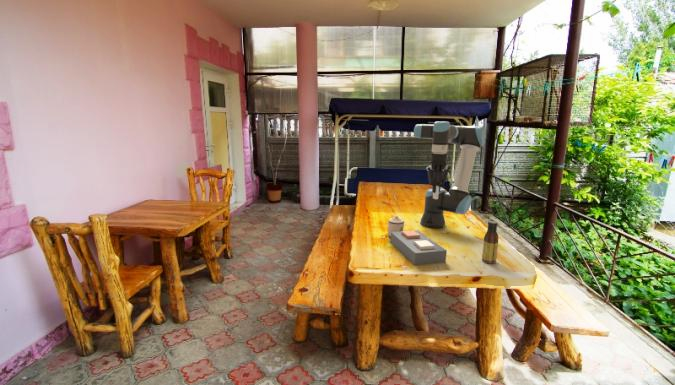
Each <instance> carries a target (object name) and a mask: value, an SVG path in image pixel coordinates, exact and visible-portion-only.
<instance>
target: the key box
mask: <svg viewBox="0 0 675 385" xmlns="http://www.w3.org/2000/svg"><path fill="white" fill-rule="evenodd" d="M414 231H415V232H417V233H418V234H420V238H412V239H407V238H405V237H404V236H403V235H402V231H400V232H391V237H390V244H391V245H392V246H393V247H394V248H396V250H397V251H399V252H400V253H401V254H402V255H403V256H404V257H405V258H406V259H407V260H408V261H409V262H410V263H411V264H412V265H413V266H422V265H431V264H432V265H433V264H444V263H446V261H447V249H445V248H444V247H442V246H441V245H440V244H438V243H437V242H436V241H434V240H432V239H431V238H430V237H428V236H427V235H425V233H423V232H422V231H420V230H417V229H416V230H414ZM422 240H427V241H429V242H430V243H432V244H433V245H434V249H423V250H420V249H419V248H418V247H416V246H415V245H414V241H422Z"/></svg>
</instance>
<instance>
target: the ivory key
mask: <svg viewBox="0 0 675 385" xmlns="http://www.w3.org/2000/svg"><path fill="white" fill-rule="evenodd" d="M414 245H415V246H416V247H418V248H419V249H420V250H423V249H434V245H433V244H432V243H430V242H429V241H427V240H422V241H414Z"/></svg>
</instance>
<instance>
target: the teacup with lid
mask: <svg viewBox="0 0 675 385" xmlns="http://www.w3.org/2000/svg"><path fill="white" fill-rule="evenodd" d="M387 221H388V222H387V223H388V226H387V236H389V237H390V238H391V232H400V231H404V226H405V220H404V219H402V218H400V217H399V216H398V215H394V217H391V218H389V219H388V220H387Z"/></svg>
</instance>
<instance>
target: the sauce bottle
mask: <svg viewBox="0 0 675 385" xmlns="http://www.w3.org/2000/svg"><path fill="white" fill-rule="evenodd" d="M498 225H499V222H498V221H495V220H488V222H487V231H486V233H485V234H484V237H483V244H482V245H483V246H482V254H481V257H482V258H481V259H482V262H484V263H486V264H493V265H494V264H496V262H497V259H498V249H499V248H498V247H499V235H498V232H497V228H498Z"/></svg>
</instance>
